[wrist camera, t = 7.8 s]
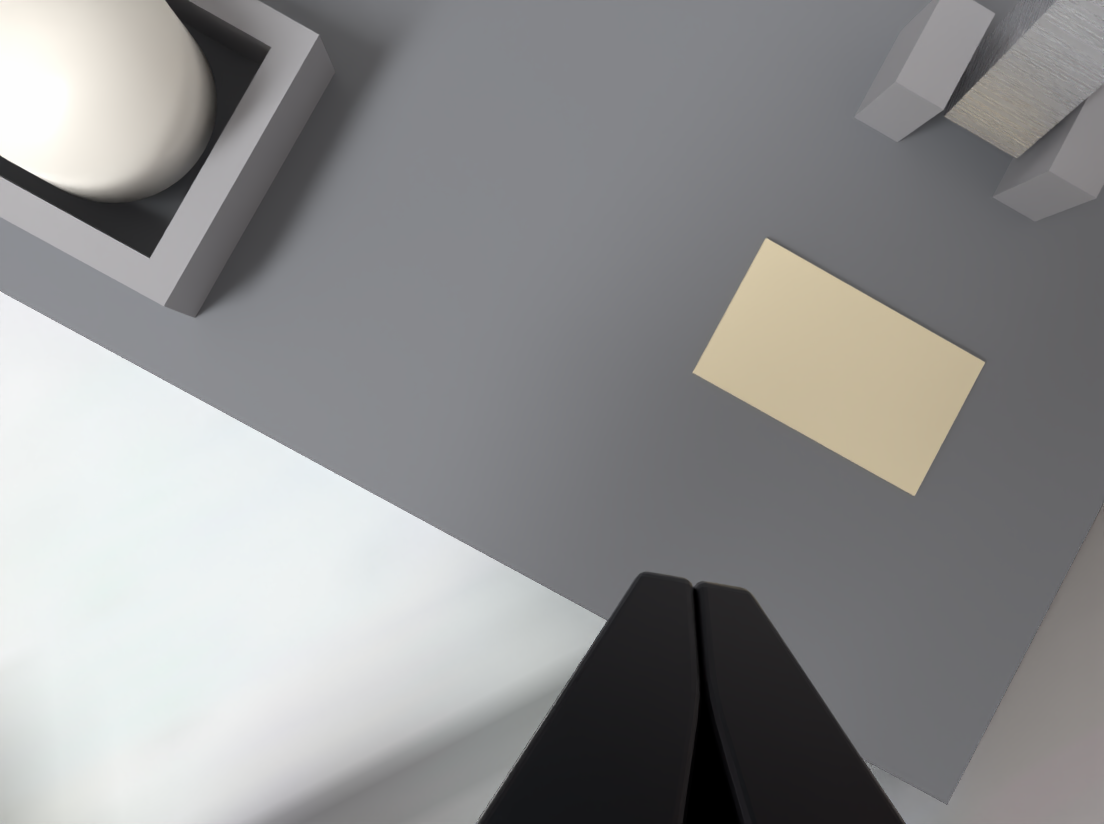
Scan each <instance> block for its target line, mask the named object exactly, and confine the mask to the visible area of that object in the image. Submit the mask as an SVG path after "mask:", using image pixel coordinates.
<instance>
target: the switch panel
mask: <svg viewBox="0 0 1104 824" xmlns="http://www.w3.org/2000/svg"><path fill="white" fill-rule="evenodd" d="M165 1H166V2H167V4H168V5H169V6H170V8H171V9H172V10H173V12H174V13H175V14H176V16H177V17H178V18H179V20H180V21H181V22H182V23H183V25H184V26H185V27H186V29H187V30H188V31H189V33H190V34H191V35H192V37H193V38H194V39H195V41H196V42H197V44H198V45H199V47H200V48H201V49H202V51H203V53H204V55H205V57H206V59H207V61H208V63H209V65H210V68H211V71H212V74H213V77H214V82H215V87H216V97H217V108H216V118H215V123H214V128H213V131H212V134H211V137H210V140H209V142H208V144H207V146H206V148H205V150H204V152H203V153H202V155H201V156H200V158H199V159H198V161H197V162H196V164H195V165H194V166H193V167H192V168H191V169H190V170H189V172H188V173H187V174H185V175H184V176H183V177H182V178H181V179H180V180H179V181H177V182H176V183H174V184H173V185H171V186H170V187H168V188H167V189H165V190H163V191H161V192H159V193H157V194H155V195H152V196H149V197H147V198H144V199H140V200H135V201H130V202H121V203H105V202H96V201H91V200H86V199H83V198H80V197H77V196H73V195H71V194H69V193H67V192H65V191H63V190H61V189H59V188H57V187H55V186H53V185H52V184H50V183H48V182H46V181H45V180H43V179H41V178H39V177H37V176H36V175H34V174H32V173H30V172H28V171H27V170H25V169H23V168H21V167H19V166H18V165H16V164H14V163H12V162H11V161H9V160H7V159H5V158H4V157H2V156H0V291H1V292H3V293H4V294H6V295H8V296H10V297H12V298H14V299H16V300H17V301H19V302H21V303H23V304H25V305H27V306H28V307H30V308H32V309H34V310H36V311H38V312H40V313H41V314H43V315H45V316H47V317H49V318H51V319H52V320H54V321H56V322H58V323H60V324H62V325H63V326H65V327H67V328H69V329H71V330H73V331H75V332H76V333H78V334H80V335H82V336H84V337H86V338H87V339H89V340H91V341H93V342H95V343H97V344H99V345H100V346H102V347H104V348H106V349H108V350H110V351H111V352H113V353H115V354H117V355H119V356H121V357H122V358H124V359H126V360H128V361H130V362H132V363H134V364H135V365H137V366H139V367H141V368H143V369H145V370H146V371H148V372H150V373H152V374H154V375H156V376H158V377H159V378H161V379H163V380H165V381H167V382H169V383H170V384H172V385H174V386H176V387H178V388H180V389H181V390H183V391H185V392H187V393H189V394H191V395H193V396H194V397H196V398H198V399H200V400H202V401H204V402H205V403H207V404H209V405H211V406H213V407H215V408H217V409H218V410H220V411H222V412H224V413H226V414H228V415H229V416H231V417H233V418H235V419H237V420H239V421H240V422H242V423H244V424H246V425H248V426H250V427H252V428H253V429H255V430H257V431H259V432H261V433H263V434H264V435H266V436H268V437H270V438H272V439H274V440H276V441H277V442H279V443H281V444H283V445H285V446H287V447H288V448H290V449H292V450H294V451H296V452H298V453H299V454H301V455H303V456H305V457H307V458H309V459H311V460H312V461H314V462H316V463H318V464H320V465H322V466H323V467H325V468H327V469H329V470H331V471H333V472H335V473H336V474H338V475H340V476H342V477H344V478H346V479H347V480H349V481H351V482H353V483H355V484H357V485H358V486H360V487H362V488H364V489H366V490H368V491H370V492H371V493H373V494H375V495H377V496H379V497H381V498H382V499H384V500H386V501H388V502H390V503H392V504H394V505H395V506H397V507H399V508H401V509H403V510H405V511H406V512H408V513H410V514H412V515H414V516H416V517H417V518H419V519H421V520H423V521H425V522H427V523H429V524H430V525H432V526H434V527H436V528H438V529H440V530H441V531H443V532H445V533H447V534H449V535H451V536H453V537H454V538H456V539H458V540H460V541H462V542H464V543H465V544H467V545H469V546H471V547H473V548H475V549H476V550H478V551H480V552H482V553H484V554H486V555H488V556H489V557H491V558H493V559H495V560H497V561H499V562H500V563H502V564H504V565H506V566H508V567H510V568H512V569H513V570H515V571H517V572H519V573H521V574H523V575H524V576H526V577H528V578H530V579H532V580H534V581H535V582H537V583H539V584H541V585H543V586H545V587H547V588H548V589H550V590H552V591H554V592H556V593H558V594H559V595H561V596H563V597H565V598H567V599H569V600H571V601H572V602H574V603H576V604H578V605H580V606H582V607H583V608H585V609H587V610H589V611H591V612H593V613H594V614H596V615H598V616H600V617H602V618H604V619H606V620H607V621H608V619H609V618H610V616H611V615H612V613H613V611H614V610H615V608H616V607H617V605H618V604H619V602H620V601H621V599H622V598H623V596H624V595H625V593H626V591H627V590H628V588H629V587H630V585H631V584H632V582H633V581H634V579H635V578H636V576H637V575H639V574H640V573H642V572H645V571H649V572H654V573H660V574H666V575H672V576H678V577H684V578H687V579H688V580H689V581H690V582H691V583H692V585H693V587H694V586H695V585H696V584H697V583H698V582H700V581H707V582H713V583H719V584H725V585H731V586H737V587H742V588H745V589H747V590H748V591H749V592H751V593H752V594H753V596H754V597H755V598H756V600H757V601H758V603H759V604H760V606H761V607H762V609H763V610H764V612H765V613H766V615H767V616H768V618H769V619H770V621H771V622H772V624H773V625H774V627H775V628H776V630H777V631H778V633H779V634H780V636H781V637H782V639H783V640H784V642H785V643H786V645H787V646H788V648H789V649H790V651H791V652H792V654H793V655H794V657H795V658H796V660H797V661H798V663H799V664H800V666H801V667H802V669H803V670H804V672H805V673H806V675H807V676H808V678H809V679H810V681H811V682H812V684H813V685H814V687H815V688H816V690H817V691H818V693H819V694H820V696H821V697H822V699H823V700H824V702H825V703H826V705H827V706H828V708H829V709H830V711H831V712H832V714H833V715H834V717H835V718H836V720H837V721H838V723H839V724H840V726H841V727H842V729H843V730H844V732H845V733H846V735H847V736H848V738H849V739H850V741H851V742H852V744H853V745H854V747H855V748H856V750H857V751H858V753H859V754H860V756H861V757H862V759H864V760H866V761H867V762H869V763H871V764H873V765H875V766H877V767H878V768H880V769H882V770H884V771H886V772H888V773H890V774H891V775H893V776H895V777H897V778H899V779H901V780H902V781H904V782H906V783H908V784H910V785H912V786H913V787H915V788H917V789H919V790H921V791H923V792H925V793H926V794H928V795H930V796H932V797H934V798H936V799H937V800H939V801H941V802H943V803H945V804H948V802H949V800H950V798H951V796H952V794H953V792H954V791H955V789H956V787H957V785H958V783H959V781H960V779H961V777H962V775H963V773H964V771H965V769H966V767H967V765H968V763H969V762H970V760H971V758H972V756H973V754H974V752H975V750H976V748H977V746H978V744H979V742H980V740H981V738H982V736H983V735H984V733H985V731H986V729H987V727H988V725H989V723H990V721H991V719H992V717H993V715H994V713H995V711H996V709H997V707H998V706H999V704H1000V702H1001V700H1002V698H1003V696H1004V694H1005V692H1006V690H1007V688H1008V686H1009V684H1010V682H1011V680H1012V679H1013V677H1014V675H1015V673H1016V671H1017V669H1018V667H1019V665H1020V663H1021V661H1022V659H1023V657H1024V655H1025V653H1026V651H1027V650H1028V648H1029V646H1030V644H1031V642H1032V640H1033V638H1034V636H1035V634H1036V632H1037V630H1038V628H1039V626H1040V624H1041V623H1042V621H1043V619H1044V617H1045V615H1046V613H1047V611H1048V609H1049V607H1050V605H1051V603H1052V601H1053V599H1054V597H1055V595H1056V594H1057V592H1058V590H1059V588H1060V586H1061V584H1062V582H1063V580H1064V578H1065V576H1066V574H1067V572H1068V570H1069V568H1070V567H1071V565H1072V563H1073V561H1074V559H1075V557H1076V555H1077V553H1078V551H1079V549H1080V547H1081V545H1082V543H1083V541H1084V539H1085V538H1086V536H1087V534H1088V532H1089V530H1090V528H1091V526H1092V524H1093V522H1094V520H1095V518H1096V516H1097V514H1098V512H1099V511H1100V509H1101V507H1102V505H1103V503H1104V84H1102V85H1101V86H1100V87H1099V88H1098V89H1097V90H1095V91H1094V92H1093V93H1092V94H1091V95H1090V96H1089V97H1087V98H1086V99H1085V100H1084V101H1083V102H1082V103H1080V104H1079V105H1078V106H1077V107H1076V108H1075V109H1074V110H1072V111H1071V112H1070V113H1069V114H1068V115H1067V116H1065V117H1064V118H1063V119H1062V120H1061V121H1060V122H1059V123H1057V124H1056V125H1055V126H1054V127H1053V128H1052V129H1050V130H1049V131H1048V132H1047V133H1046V134H1045V135H1044V136H1042V137H1041V138H1040V139H1039V140H1038V141H1037V142H1035V143H1034V144H1033V145H1032V146H1031V147H1030V148H1028V149H1027V150H1026V151H1025V152H1024V153H1023V154H1022V155H1020V156H1019V157H1018V158H1017V159H1016V158H1014V157H1013V156H1011V155H1009V154H1008V153H1006V152H1004V151H1002V150H1001V149H999V148H997V147H995V146H994V145H992V144H990V143H989V142H987V141H985V140H983V139H982V138H980V137H978V136H977V135H975V134H973V133H971V132H970V131H968V130H966V129H964V128H963V127H961V126H959V125H958V124H956V123H954V122H952V121H951V120H949V119H947V118H946V117H944V115H945V112H946V110H947V107H948V104H949V102H950V99H951V97H952V94H953V91H954V90H955V88H956V86H957V84H958V82H959V80H960V78H961V77H962V75H963V73H964V71H965V69H966V67H967V65H968V63H969V62H970V60H971V58H972V56H973V54H974V52H975V50H976V49H977V47H978V46H979V45H980V44H981V43H982V42H983V41H984V40H985V38H986V37H987V36H988V35H989V34H990V33H991V32H992V31H993V30H994V29H995V28H996V27H997V26H998V24H999V23H1000V22H1001V21H1002V20H1003V19H1004V18H1005V17H1006V16H1007V15H1008V14H1009V13H1010V12H1011V10H1012V9H1013V8H1014V7H1015V6H1016V5H1017V4H1018V3H1019V2H1020V1H1021V0H165Z"/></svg>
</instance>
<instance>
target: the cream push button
mask: <svg viewBox="0 0 1104 824" xmlns="http://www.w3.org/2000/svg"><path fill="white" fill-rule="evenodd" d="M216 108H217V97H216V87H215V82H214V77H213V74H212V71H211V68H210V65H209V63H208V61H207V59H206V57H205V55H204V53H203V51H202V49H201V48H200V47H199V45H198V44H197V42H196V41H195V39H194V38H193V37H192V35H191V34H190V33H189V31H188V30H187V29H186V27H185V26H184V25H183V23H182V22H181V21H180V20H179V18H178V17H177V16H176V14H175V13H174V12H173V10H172V9H171V8H170V6H169V5H168V4H167V2H166V1H165V0H0V156H2V157H4V158H5V159H7V160H9V161H11V162H12V163H14V164H16V165H18V166H19V167H21V168H23V169H25V170H27V171H28V172H30V173H32V174H34V175H36V176H37V177H39V178H41V179H43V180H45V181H46V182H48V183H50V184H52V185H53V186H55V187H57V188H59V189H61V190H63V191H65V192H67V193H69V194H71V195H73V196H77V197H80V198H83V199H86V200H91V201H96V202H105V203H121V202H130V201H135V200H140V199H144V198H147V197H149V196H152V195H155V194H157V193H159V192H161V191H163V190H165V189H167V188H168V187H170V186H171V185H173V184H174V183H176V182H177V181H179V180H180V179H181V178H182V177H183V176H184V175H185V174H187V173H188V172H189V170H190V169H191V168H192V167H193V166H194V165H195V164H196V162H197V161H198V159H199V158H200V156H201V155H202V153H203V152H204V150H205V148H206V146H207V144H208V142H209V140H210V137H211V134H212V131H213V128H214V123H215V118H216Z"/></svg>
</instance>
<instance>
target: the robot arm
mask: <svg viewBox="0 0 1104 824" xmlns="http://www.w3.org/2000/svg"><path fill="white" fill-rule="evenodd" d="M476 824H906V823H905V822H904V820H903V819H902V817H901V816H900V814H899V813H898V811H897V810H896V808H895V807H894V805H893V804H892V802H891V801H890V799H889V798H888V796H887V795H886V793H885V792H884V790H883V789H882V787H881V786H880V784H879V783H878V781H877V780H876V778H875V777H874V775H873V774H872V772H871V771H870V769H869V768H868V766H867V765H866V763H865V762H864V760H863V759H862V757H861V756H860V754H859V753H858V751H857V750H856V748H855V747H854V745H853V744H852V742H851V741H850V739H849V738H848V736H847V735H846V733H845V732H844V730H843V729H842V727H841V726H840V724H839V723H838V721H837V720H836V718H835V717H834V715H833V714H832V712H831V711H830V709H829V708H828V706H827V705H826V703H825V702H824V700H823V699H822V697H821V696H820V694H819V693H818V691H817V690H816V688H815V687H814V685H813V684H812V682H811V681H810V679H809V678H808V676H807V675H806V673H805V672H804V670H803V669H802V667H801V666H800V664H799V663H798V661H797V660H796V658H795V657H794V655H793V654H792V652H791V651H790V649H789V648H788V646H787V645H786V643H785V642H784V640H783V639H782V637H781V636H780V634H779V633H778V631H777V630H776V628H775V627H774V625H773V624H772V622H771V621H770V619H769V618H768V616H767V615H766V613H765V612H764V610H763V609H762V607H761V606H760V604H759V603H758V601H757V600H756V598H755V597H754V596H753V594H752V593H751V592H749V591H748V590H747V589H745V588H742V587H737V586H731V585H725V584H719V583H713V582H707V581H700V582H698V583H697V584H696V585H695V586H694V587H693V585H692V583H691V582H690V581H689V580H688V579H687V578H684V577H678V576H672V575H666V574H660V573H654V572H649V571H645V572H642V573H640V574H639V575H637V576H636V578H635V579H634V581H633V582H632V584H631V585H630V587H629V588H628V590H627V591H626V593H625V595H624V596H623V598H622V599H621V601H620V602H619V604H618V605H617V607H616V608H615V610H614V611H613V613H612V615H611V616H610V618H609V619H608V621H607V622H606V624H605V625H604V627H603V628H602V630H601V631H600V633H599V635H598V636H597V638H596V639H595V641H594V642H593V644H592V645H591V647H590V648H589V650H588V652H587V653H586V655H585V656H584V658H583V659H582V661H581V662H580V664H579V665H578V667H577V668H576V670H575V672H574V673H573V675H572V676H571V678H570V679H569V681H568V682H567V684H566V685H565V687H564V688H563V690H562V692H561V693H560V695H559V696H558V698H557V699H556V701H555V702H554V704H553V705H552V707H551V708H550V710H549V712H548V713H547V715H546V716H545V718H544V719H543V721H542V722H541V724H540V725H539V727H538V728H537V730H536V732H535V733H534V735H533V736H532V738H531V739H530V741H529V742H528V744H527V745H526V747H525V748H524V750H523V752H522V753H521V755H520V756H519V758H518V759H517V761H516V762H515V764H514V765H513V767H512V768H511V770H510V772H509V773H508V775H507V776H506V778H505V779H504V781H503V782H502V784H501V785H500V787H499V788H498V790H497V792H496V793H495V795H494V796H493V798H492V799H491V801H490V802H489V804H488V805H487V807H486V808H485V810H484V812H483V813H482V815H481V816H480V818H479V819H478V821H477V822H476Z"/></svg>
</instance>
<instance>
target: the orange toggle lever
mask: <svg viewBox="0 0 1104 824" xmlns="http://www.w3.org/2000/svg"><path fill="white" fill-rule="evenodd" d="M1102 84H1104V0H1021V1H1020V2H1019V3H1018V4H1017V5H1016V6H1015V7H1014V8H1013V9H1012V10H1011V12H1010V13H1009V14H1008V15H1007V16H1006V17H1005V18H1004V19H1003V20H1002V21H1001V22H1000V23H999V24H998V26H997V27H996V28H995V29H994V30H993V31H992V32H991V33H990V34H989V35H988V36H987V37H986V38H985V40H984V41H983V42H982V43H981V44H980V45H979V46H978V47H977V49H976V50H975V52H974V54H973V56H972V58H971V60H970V62H969V63H968V65H967V67H966V69H965V71H964V73H963V75H962V77H961V78H960V80H959V82H958V84H957V86H956V88H955V90H954V91H953V94H952V97H951V99H950V102H949V104H948V107H947V110H946V112H945V115H944V117H946V118H947V119H949V120H951V121H952V122H954V123H956V124H958V125H959V126H961V127H963V128H964V129H966V130H968V131H970V132H971V133H973V134H975V135H977V136H978V137H980V138H982V139H983V140H985V141H987V142H989V143H990V144H992V145H994V146H995V147H997V148H999V149H1001V150H1002V151H1004V152H1006V153H1008V154H1009V155H1011V156H1013V157H1014V158H1016V159H1017V158H1018V157H1019V156H1020V155H1022V154H1023V153H1024V152H1025V151H1026V150H1027V149H1028V148H1030V147H1031V146H1032V145H1033V144H1034V143H1035V142H1037V141H1038V140H1039V139H1040V138H1041V137H1042V136H1044V135H1045V134H1046V133H1047V132H1048V131H1049V130H1050V129H1052V128H1053V127H1054V126H1055V125H1056V124H1057V123H1059V122H1060V121H1061V120H1062V119H1063V118H1064V117H1065V116H1067V115H1068V114H1069V113H1070V112H1071V111H1072V110H1074V109H1075V108H1076V107H1077V106H1078V105H1079V104H1080V103H1082V102H1083V101H1084V100H1085V99H1086V98H1087V97H1089V96H1090V95H1091V94H1092V93H1093V92H1094V91H1095V90H1097V89H1098V88H1099V87H1100V86H1101V85H1102Z"/></svg>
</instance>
